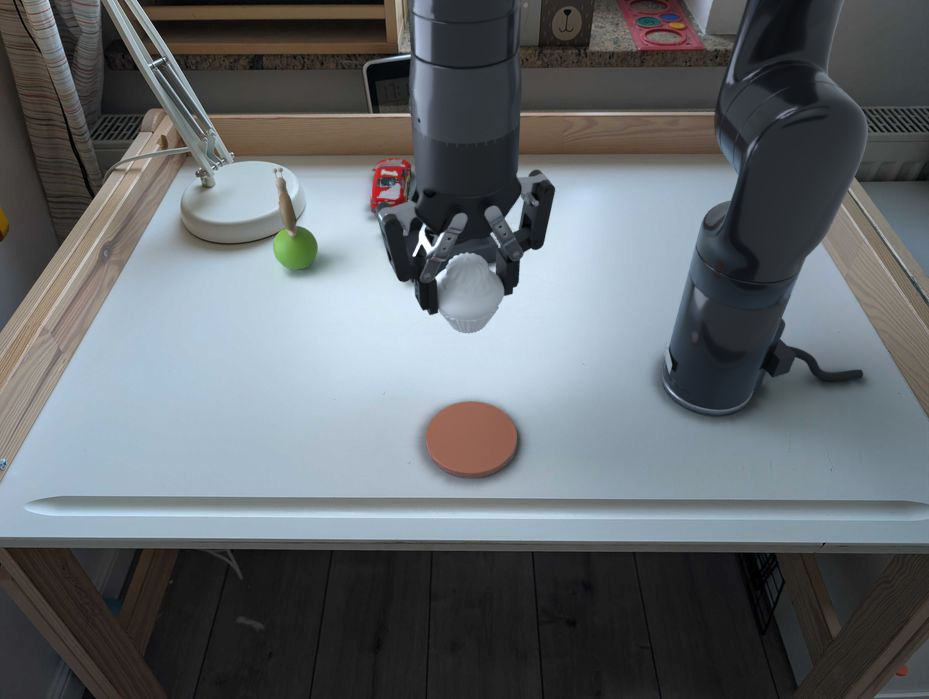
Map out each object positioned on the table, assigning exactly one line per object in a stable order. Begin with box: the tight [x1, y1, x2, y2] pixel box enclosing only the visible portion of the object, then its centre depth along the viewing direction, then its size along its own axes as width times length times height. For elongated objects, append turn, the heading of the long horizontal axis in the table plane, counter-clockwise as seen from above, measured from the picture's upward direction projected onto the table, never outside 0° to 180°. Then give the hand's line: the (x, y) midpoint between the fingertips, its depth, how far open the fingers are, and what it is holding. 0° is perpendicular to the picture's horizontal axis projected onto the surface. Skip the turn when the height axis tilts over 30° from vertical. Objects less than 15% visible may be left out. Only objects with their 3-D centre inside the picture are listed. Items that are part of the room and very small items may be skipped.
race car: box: [369, 157, 412, 215], centre depth 102 cm, size 13×5×4 cm, turn 178°
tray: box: [403, 217, 499, 283], centre depth 93 cm, size 12×11×2 cm
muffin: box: [435, 252, 505, 335], centre depth 60 cm, size 6×6×7 cm
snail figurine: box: [272, 167, 319, 271], centre depth 88 cm, size 5×6×12 cm
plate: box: [425, 400, 518, 479], centre depth 71 cm, size 9×9×1 cm
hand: (467, 298), depth 61 cm, fingers closed on muffin, 6 cm apart
